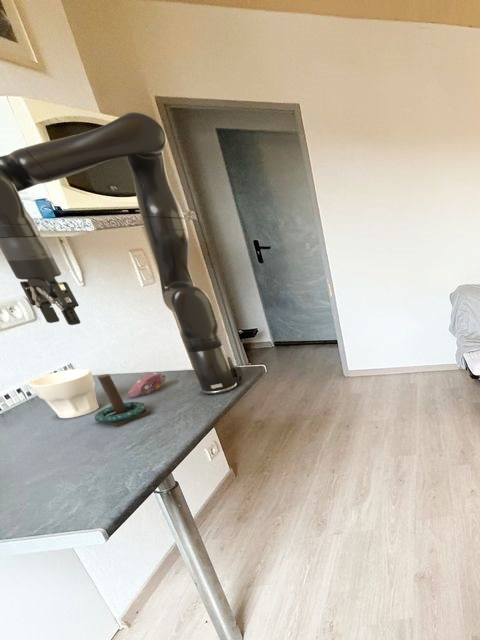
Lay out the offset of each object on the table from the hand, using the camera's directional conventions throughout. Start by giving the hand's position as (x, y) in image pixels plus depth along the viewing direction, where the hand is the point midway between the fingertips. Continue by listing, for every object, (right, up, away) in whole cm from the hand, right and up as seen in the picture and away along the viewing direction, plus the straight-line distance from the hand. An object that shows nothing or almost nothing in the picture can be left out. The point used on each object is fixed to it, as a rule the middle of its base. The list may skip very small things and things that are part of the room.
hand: (64, 323), depth 106 cm
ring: (+4, -23, +10) cm, 26 cm away
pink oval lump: (-3, -17, +27) cm, 32 cm away
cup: (-13, -23, +15) cm, 30 cm away
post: (+5, -25, +11) cm, 28 cm away
